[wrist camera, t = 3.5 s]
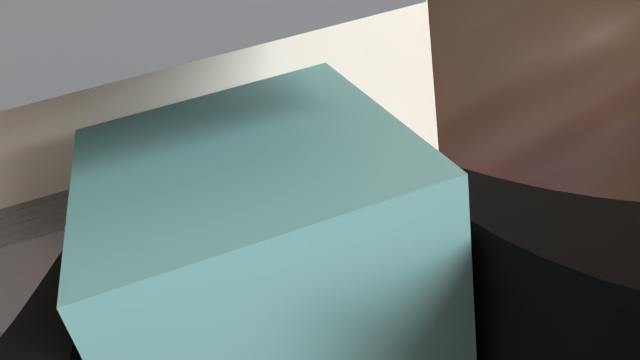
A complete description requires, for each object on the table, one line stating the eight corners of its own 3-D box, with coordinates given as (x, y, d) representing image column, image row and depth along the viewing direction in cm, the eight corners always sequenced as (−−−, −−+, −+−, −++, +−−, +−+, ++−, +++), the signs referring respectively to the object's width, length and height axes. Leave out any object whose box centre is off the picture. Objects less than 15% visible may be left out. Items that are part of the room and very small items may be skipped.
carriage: (307, 48, 10) (467, 173, 6) (347, 269, 13) (482, 480, 8) (78, 108, 10) (56, 308, 5) (166, 332, 12) (206, 604, 8)
